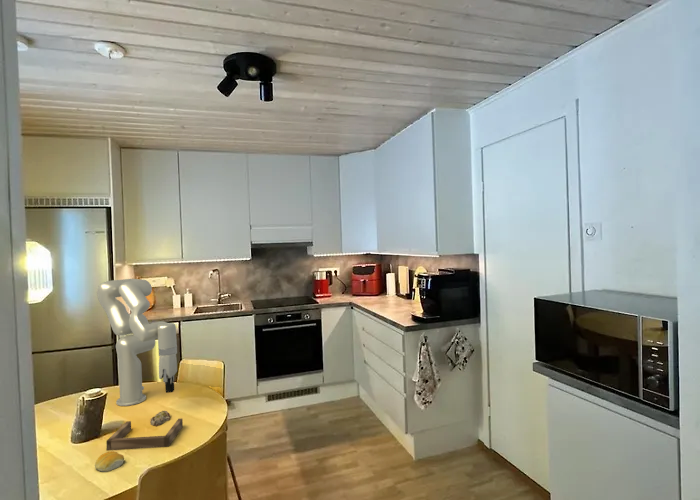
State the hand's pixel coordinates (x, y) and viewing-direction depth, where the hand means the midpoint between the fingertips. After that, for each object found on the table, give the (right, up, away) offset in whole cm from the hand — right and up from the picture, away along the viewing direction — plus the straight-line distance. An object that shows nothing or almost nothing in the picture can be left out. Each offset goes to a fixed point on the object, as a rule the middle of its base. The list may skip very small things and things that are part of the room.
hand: (170, 391), depth 179 cm
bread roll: (-2, -11, -42) cm, 43 cm away
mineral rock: (-1, -10, -8) cm, 13 cm away
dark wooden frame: (+1, -10, -23) cm, 25 cm away
